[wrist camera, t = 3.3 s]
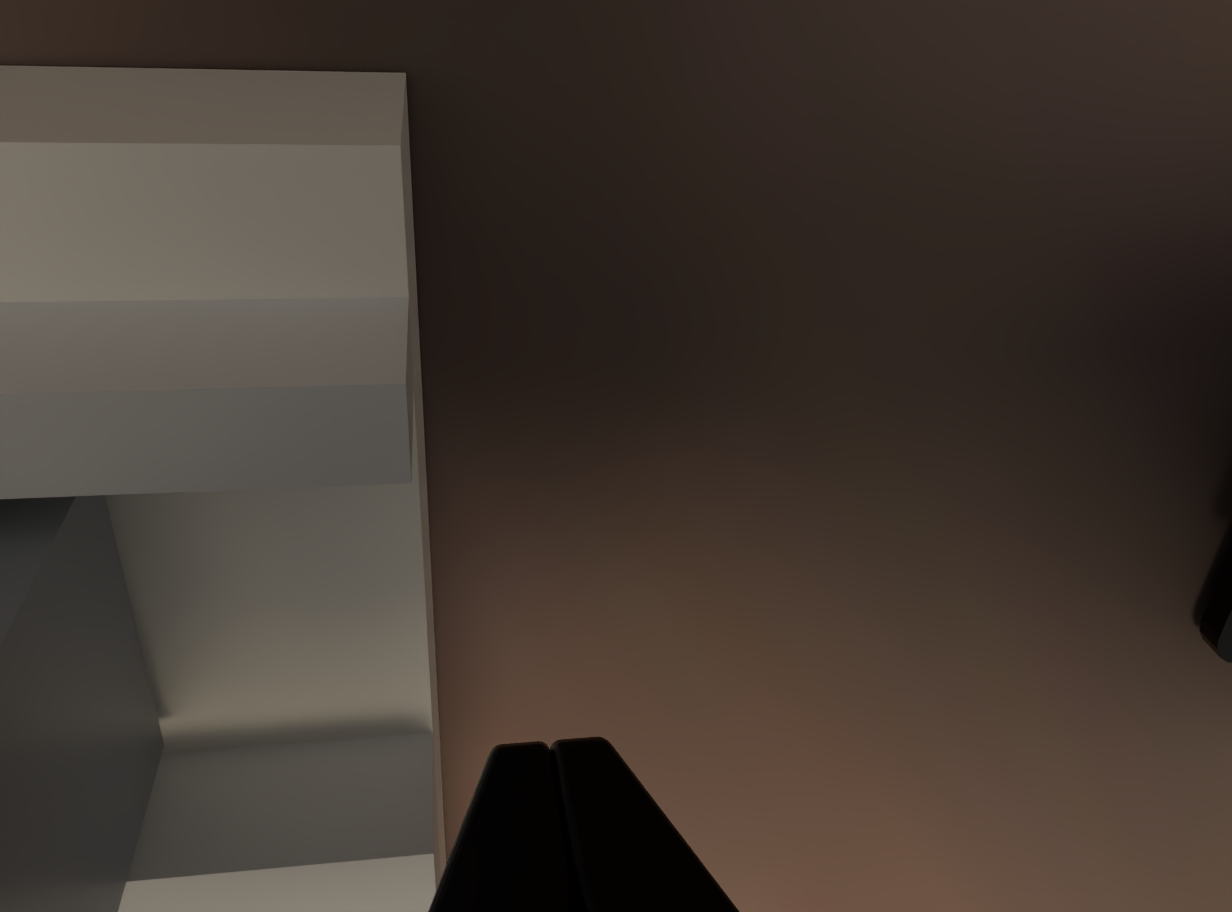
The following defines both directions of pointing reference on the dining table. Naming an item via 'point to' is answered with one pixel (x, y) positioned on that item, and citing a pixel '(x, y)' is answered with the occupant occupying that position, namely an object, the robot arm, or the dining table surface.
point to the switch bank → (240, 456)
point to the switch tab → (69, 710)
